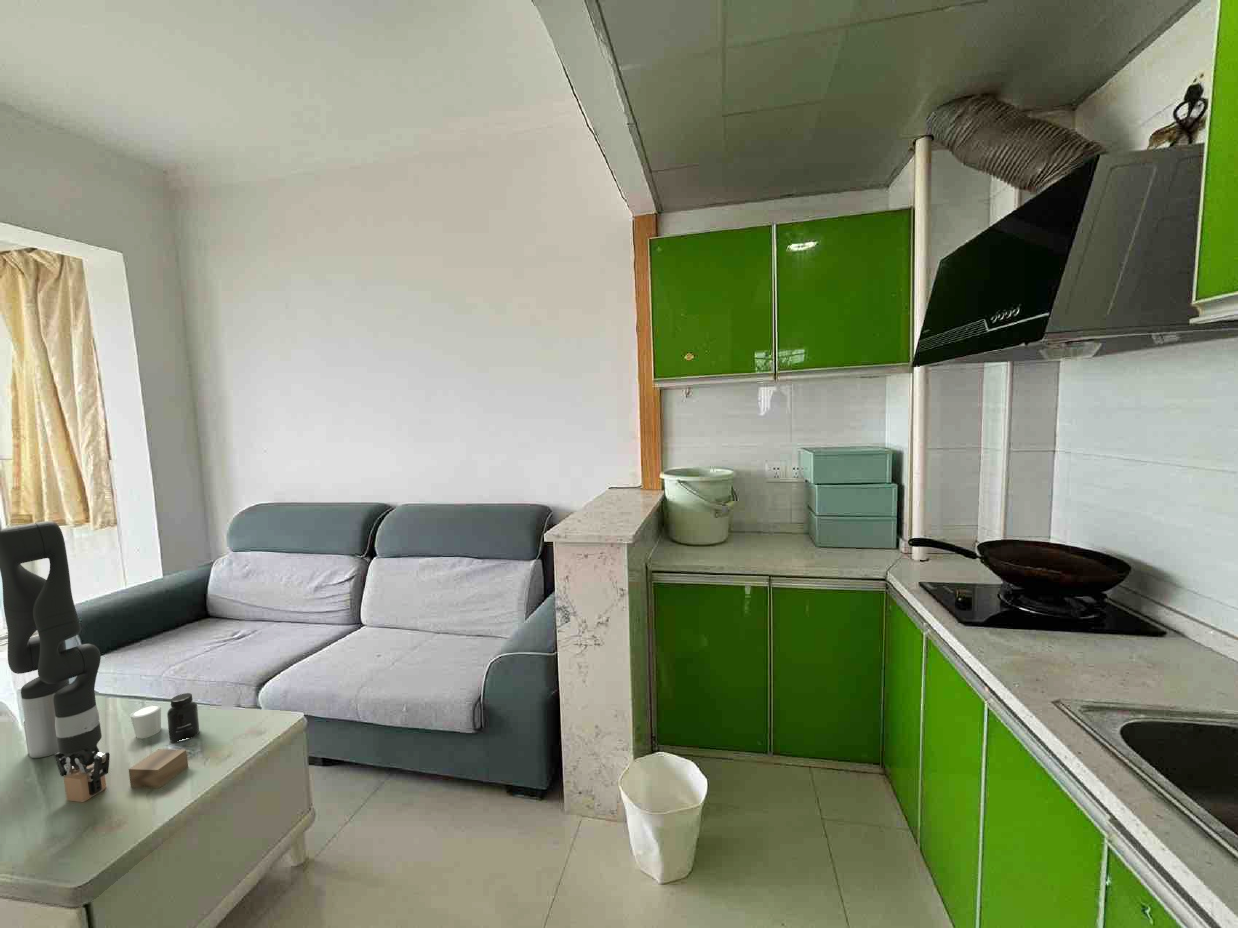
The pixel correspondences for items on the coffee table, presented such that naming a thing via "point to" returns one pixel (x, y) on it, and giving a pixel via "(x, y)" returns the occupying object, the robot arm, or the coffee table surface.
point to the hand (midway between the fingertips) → (86, 791)
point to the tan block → (79, 786)
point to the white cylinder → (146, 721)
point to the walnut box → (158, 768)
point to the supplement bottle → (182, 718)
